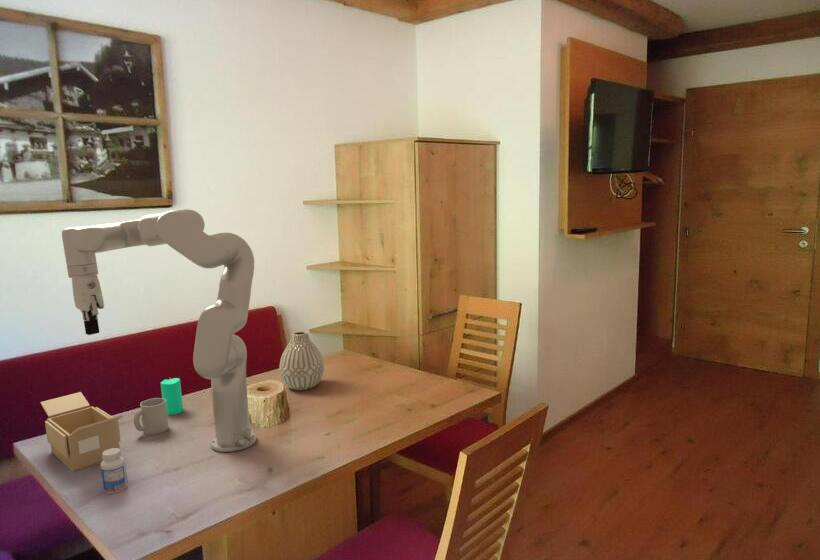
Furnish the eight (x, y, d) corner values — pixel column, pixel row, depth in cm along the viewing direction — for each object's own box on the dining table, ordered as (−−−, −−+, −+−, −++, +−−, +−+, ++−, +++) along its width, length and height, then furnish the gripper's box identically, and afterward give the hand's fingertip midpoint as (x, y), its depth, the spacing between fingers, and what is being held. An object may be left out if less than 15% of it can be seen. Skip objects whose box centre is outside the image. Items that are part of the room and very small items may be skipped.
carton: (123, 455, 168) (119, 420, 166) (70, 473, 158) (65, 437, 157) (99, 437, 181) (95, 405, 179) (48, 453, 171) (43, 419, 169)
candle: (186, 408, 202) (182, 373, 200) (177, 414, 196) (174, 379, 194) (169, 407, 203) (165, 373, 201) (160, 414, 197) (156, 379, 195)
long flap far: (89, 405, 178) (80, 391, 182) (48, 416, 170) (40, 402, 174) (89, 406, 178) (80, 393, 182) (48, 417, 171) (40, 403, 175)
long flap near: (114, 422, 165) (122, 416, 160) (71, 435, 157) (78, 429, 153) (114, 420, 165) (122, 415, 160) (71, 433, 158) (78, 427, 153)
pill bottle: (109, 483, 152) (104, 447, 150) (131, 482, 152) (127, 445, 151) (99, 494, 147) (95, 457, 145) (123, 493, 147) (118, 455, 145)
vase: (321, 393, 212) (318, 338, 209) (276, 394, 212) (272, 339, 209) (328, 378, 228) (325, 326, 224) (286, 379, 228) (282, 328, 225)
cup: (173, 428, 185) (170, 401, 184) (141, 440, 178) (138, 411, 176) (160, 423, 190) (157, 396, 188) (129, 434, 182) (126, 406, 181)
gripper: (106, 269, 169) (116, 333, 172) (87, 267, 179) (96, 328, 182) (77, 274, 164) (88, 340, 167) (59, 271, 174) (69, 333, 177)
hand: (92, 333), depth 174 cm, fingers closed
